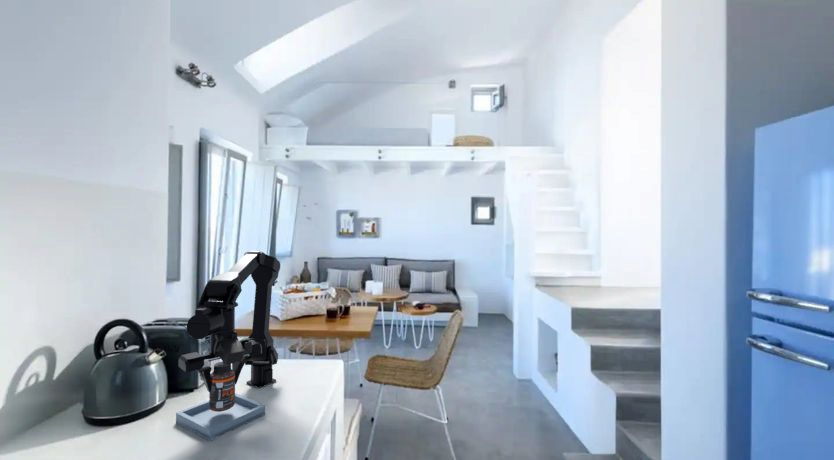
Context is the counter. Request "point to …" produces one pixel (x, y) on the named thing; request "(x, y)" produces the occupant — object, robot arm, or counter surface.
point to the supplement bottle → (222, 388)
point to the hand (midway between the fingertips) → (222, 387)
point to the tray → (219, 417)
